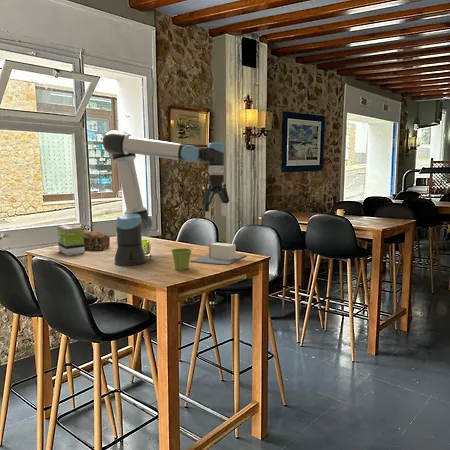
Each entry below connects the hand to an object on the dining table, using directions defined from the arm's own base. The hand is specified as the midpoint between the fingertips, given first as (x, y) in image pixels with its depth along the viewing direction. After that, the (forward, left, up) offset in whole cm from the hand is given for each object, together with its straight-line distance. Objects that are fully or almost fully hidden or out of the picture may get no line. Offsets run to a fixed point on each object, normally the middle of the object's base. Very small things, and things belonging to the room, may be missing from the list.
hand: (216, 217), depth 216 cm
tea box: (-15, +81, -22) cm, 85 cm away
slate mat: (0, -2, -21) cm, 21 cm away
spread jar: (+26, +75, -22) cm, 83 cm away
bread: (-1, +80, -22) cm, 82 cm away
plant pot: (-26, +5, -22) cm, 34 cm away
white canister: (-1, -9, -17) cm, 20 cm away
